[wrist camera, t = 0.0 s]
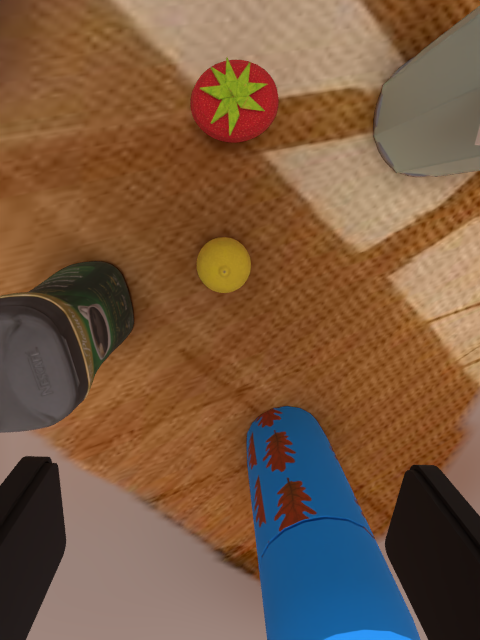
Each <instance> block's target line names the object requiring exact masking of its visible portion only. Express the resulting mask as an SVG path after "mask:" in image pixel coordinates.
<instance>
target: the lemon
mask: <svg viewBox="0 0 480 640" xmlns="http://www.w3.org/2000/svg"><path fill="white" fill-rule="evenodd" d="M196 264H197V272H198V275H199V278H200V279H201V281H202V282H203V283H204V284H205V285H206V286H207V287H208V288H209V289H211V290H213V291H216V292H219V293H228V292H233V291H235V290H237V289H239V288H240V287H241V286H242V285H243V284H244V283H245V282H246V280H247V279H248V277H249V274H250V270H251V261H250V256H249V254H248V251H247V250H246V249H245V247H244V246H243V245H242V244H241V243H239V242H238V241H236V240H234V239H232V238H227V237H219V238H215V239H212V240H210V241H209V242H208V243H206V244H205V245H204V246H203V247H202V249H201V250H200V252H199V254H198V257H197V262H196Z"/></svg>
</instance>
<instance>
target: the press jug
mask: <svg viewBox="0 0 480 640" xmlns="http://www.w3.org/2000/svg"><path fill="white" fill-rule="evenodd" d="M373 129H374V137H375V142H376V145H377V148H378V150H379V152H380V154H381V156H382V158H383V159H384V160H385V162H386V163H387V164H388V165H389V166H390V167H391V168H393V169H394V170H395V171H396V173H401V174H404V175H407V176H412V177H423V176H435V177H437V176H444V175H451V174H458V173H465V172H473V171H480V6H479V7H477V8H476V9H475V10H474V11H472V12H471V13H470V14H468V15H467V16H466V17H464V18H463V19H462V20H461V21H459V22H458V23H457V24H455V25H454V26H453V27H452V28H450V29H449V30H448V31H446V32H445V33H444V34H442V35H441V36H440V37H439V38H437V39H436V40H435V41H433V42H432V43H431V44H429V45H428V46H427V47H426V48H424V49H423V50H422V51H421V52H420V53H419V54H418V55H417V56H415V57H414V58H412V59H410V60H409V61H408V62H406V63H405V64H404V65H402V66H401V67H400V68H399V69H398V70H397V71H396V72H395V73H394V74H393V75H392V76H391V77H390V79H389V80H388V81H387V82H386V83H385V84H384V85H383V88H382V92H381V94H380V96H379V99H378V101H377V104H376V108H375V113H374V126H373Z"/></svg>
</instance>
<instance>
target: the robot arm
mask: <svg viewBox="0 0 480 640" xmlns="http://www.w3.org/2000/svg"><path fill="white" fill-rule="evenodd" d="M65 546H66V534H65V525H64V516H63V507H62V498H61V488H60V480H59V470H58V465H57V463H52V461H51V459H50V457H34V456H33V457H32V456H26V457H23V458H22V459H21V460H20V461H19V462H18V464H17V465H16V466H15V467H14V469H13V470H12V471H11V473H10V474H9V475H8V476H7V478H6V479H5V480H4V482H3V483H2V484H1V485H0V640H26V638H27V636H28V633H29V631H30V629H31V627H32V624H33V622H34V620H35V618H36V615H37V613H38V611H39V609H40V607H41V604H42V602H43V600H44V598H45V595H46V593H47V591H48V588H49V586H50V584H51V582H52V580H53V577H54V575H55V573H56V571H57V568H58V566H59V563H60V562H61V559H62V557H63V554H64V551H65ZM385 548H386V553H387V555H388V558H389V560H390V562H391V564H392V566H393V568H394V570H395V572H396V574H397V576H398V578H399V580H400V582H401V584H402V587H403V589H404V590H405V593H406V595H407V597H408V599H409V601H410V603H411V605H412V607H413V609H414V611H415V613H416V615H417V617H418V619H419V621H420V623H421V626H422V628H423V630H424V632H425V634H426V636H427V638H428V640H480V516H479V515H478V514H477V513H476V511H475V510H474V509H473V508H472V507H471V506H470V504H469V503H468V502H467V501H466V500H465V498H464V497H463V496H462V495H461V494H460V492H459V491H458V490H457V489H456V488H455V487H454V485H452V483H451V482H450V481H449V479H448V478H447V477H446V476H445V475H444V474H443V472H442V471H441V470H440V469H439V468H438V467H437V466H434V465H413V466H411V468H410V470H407V471H406V472H405V475H404V478H403V481H402V485H401V488H400V492H399V495H398V498H397V502H396V505H395V509H394V512H393V516H392V519H391V522H390V526H389V529H388V533H387V536H386V540H385Z"/></svg>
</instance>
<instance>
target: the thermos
mask: <svg viewBox="0 0 480 640" xmlns="http://www.w3.org/2000/svg"><path fill="white" fill-rule="evenodd" d="M247 466H248V475H249V484H250V492H251V501H252V510H253V519H254V528H255V536H256V545H257V554H258V563H259V572H260V581H261V589H262V598H263V607H264V615H265V623H266V624H265V625H266V633H267V640H420V637H419V634H418V632H417V629H416V626H415V623H414V621H413V618H412V616H411V614H410V612H409V610H408V608H407V606H406V604H405V602H404V599H403V597H402V595H401V593H400V591H399V589H398V587H397V585H396V583H395V580H394V578H393V576H392V574H391V572H390V570H389V568H388V565H387V563H386V561H385V559H384V557H383V555H382V553H381V551H380V549H379V546H378V544H377V542H376V540H375V538H374V536H373V534H372V532H371V529H370V527H369V525H368V523H367V521H366V519H365V517H364V515H363V513H362V510H361V508H360V506H359V504H358V502H357V500H356V498H355V496H354V494H353V491H352V489H351V487H350V485H349V483H348V481H347V479H346V477H345V474H344V472H343V470H342V468H341V466H340V464H339V462H338V460H337V458H336V455H335V453H334V451H333V449H332V447H331V445H330V443H329V441H328V439H327V437H326V435H325V434H324V432H323V430H322V428H321V427H320V425H319V423H318V422H317V420H316V419H315V418H314V417H313V416H312V415H311V414H310V413H308V412H306V411H305V410H303V409H301V408H296V407H289V406H284V407H278V408H273V409H271V410H269V411H267V412H265V413H263V414H261V415H260V416H259V417H258V418H257V419H256V420H255V421H254V422H253V423H252V425H251V427H250V429H249V431H248V433H247Z"/></svg>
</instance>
